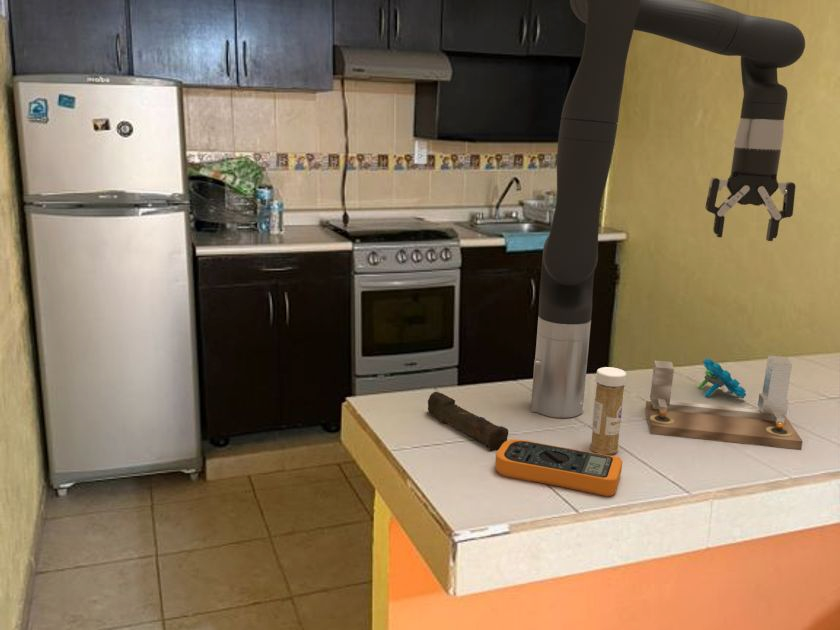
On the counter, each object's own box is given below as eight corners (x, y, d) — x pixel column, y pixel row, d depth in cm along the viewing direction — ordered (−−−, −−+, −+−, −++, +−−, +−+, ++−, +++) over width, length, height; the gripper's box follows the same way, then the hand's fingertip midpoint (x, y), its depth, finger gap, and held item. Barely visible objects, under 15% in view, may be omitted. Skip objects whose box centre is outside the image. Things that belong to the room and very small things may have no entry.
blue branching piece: (757, 398, 147) (724, 360, 145) (734, 419, 147) (700, 382, 145) (729, 385, 158) (698, 351, 156) (708, 406, 158) (676, 371, 156)
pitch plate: (650, 433, 133) (656, 379, 130) (645, 408, 144) (651, 358, 142) (801, 449, 128) (810, 394, 126) (783, 422, 140) (791, 371, 137)
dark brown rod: (509, 448, 125) (510, 421, 124) (489, 454, 123) (491, 426, 122) (441, 410, 140) (442, 386, 139) (422, 414, 138) (423, 390, 137)
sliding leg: (767, 428, 131) (776, 370, 128) (756, 410, 139) (765, 355, 136) (792, 430, 130) (802, 372, 128) (780, 412, 138) (789, 357, 136)
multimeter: (505, 454, 123) (506, 434, 122) (621, 476, 117) (623, 455, 116) (490, 477, 116) (492, 455, 115) (614, 501, 110) (616, 479, 109)
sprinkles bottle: (617, 457, 123) (625, 376, 119) (588, 453, 124) (595, 373, 121) (619, 446, 127) (627, 368, 124) (590, 442, 128) (598, 364, 125)
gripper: (718, 145, 133) (705, 238, 137) (807, 149, 130) (791, 245, 135) (711, 143, 140) (699, 232, 145) (796, 147, 138) (781, 238, 142)
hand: (744, 238), depth 140 cm, fingers open, 8 cm apart
